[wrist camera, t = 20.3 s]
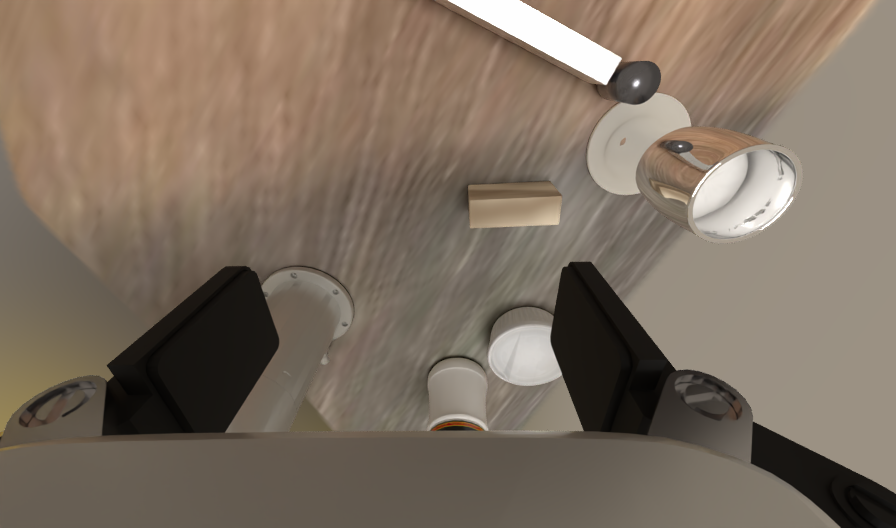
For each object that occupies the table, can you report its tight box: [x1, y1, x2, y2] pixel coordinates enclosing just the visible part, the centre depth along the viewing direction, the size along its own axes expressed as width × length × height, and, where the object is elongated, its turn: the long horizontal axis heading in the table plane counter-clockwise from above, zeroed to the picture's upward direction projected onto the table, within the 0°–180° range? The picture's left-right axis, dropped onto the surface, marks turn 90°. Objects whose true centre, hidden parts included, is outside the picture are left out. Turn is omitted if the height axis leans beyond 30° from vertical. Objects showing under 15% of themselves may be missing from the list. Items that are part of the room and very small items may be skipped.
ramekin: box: [487, 307, 562, 386], centre depth 45 cm, size 11×11×5 cm
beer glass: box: [605, 117, 803, 243], centre depth 27 cm, size 7×7×15 cm
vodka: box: [426, 358, 489, 431], centre depth 40 cm, size 9×9×30 cm
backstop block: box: [468, 181, 562, 228], centre depth 35 cm, size 3×9×5 cm, turn 93°
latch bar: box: [434, 0, 661, 105], centre depth 26 cm, size 3×28×5 cm, turn 67°
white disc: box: [586, 93, 691, 195], centre depth 34 cm, size 10×10×1 cm
